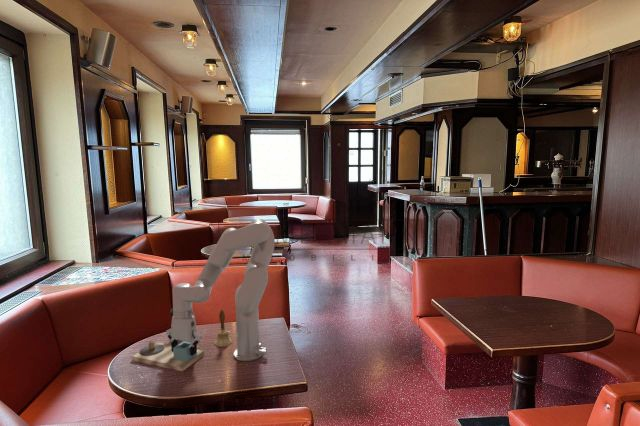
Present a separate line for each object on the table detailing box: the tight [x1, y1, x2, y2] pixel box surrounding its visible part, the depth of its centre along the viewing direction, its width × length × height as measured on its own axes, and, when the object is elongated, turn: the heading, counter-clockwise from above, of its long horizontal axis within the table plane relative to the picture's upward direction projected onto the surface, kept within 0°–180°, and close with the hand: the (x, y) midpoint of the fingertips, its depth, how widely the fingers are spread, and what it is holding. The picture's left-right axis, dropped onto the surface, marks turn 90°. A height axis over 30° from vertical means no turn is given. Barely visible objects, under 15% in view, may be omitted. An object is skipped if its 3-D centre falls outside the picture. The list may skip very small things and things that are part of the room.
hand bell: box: [213, 309, 233, 348], centre depth 174 cm, size 8×8×16 cm
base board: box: [131, 340, 205, 372], centre depth 161 cm, size 27×14×6 cm, turn 70°
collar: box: [173, 341, 197, 362], centre depth 157 cm, size 7×7×5 cm
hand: (184, 352), depth 157 cm, fingers open, 9 cm apart
